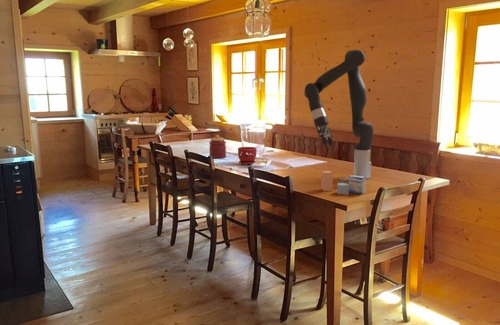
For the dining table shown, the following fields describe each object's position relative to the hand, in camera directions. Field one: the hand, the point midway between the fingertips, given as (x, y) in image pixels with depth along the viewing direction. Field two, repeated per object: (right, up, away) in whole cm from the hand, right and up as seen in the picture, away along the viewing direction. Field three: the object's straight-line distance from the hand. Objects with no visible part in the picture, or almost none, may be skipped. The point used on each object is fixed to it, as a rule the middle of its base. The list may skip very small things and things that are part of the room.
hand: (328, 145), depth 235 cm
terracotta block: (-2, -24, -5) cm, 25 cm away
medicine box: (+13, -25, -10) cm, 30 cm away
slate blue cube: (+5, -26, -12) cm, 29 cm away
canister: (-68, -6, +99) cm, 120 cm away
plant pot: (-45, -11, +70) cm, 84 cm away
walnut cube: (+10, -23, +1) cm, 25 cm away
